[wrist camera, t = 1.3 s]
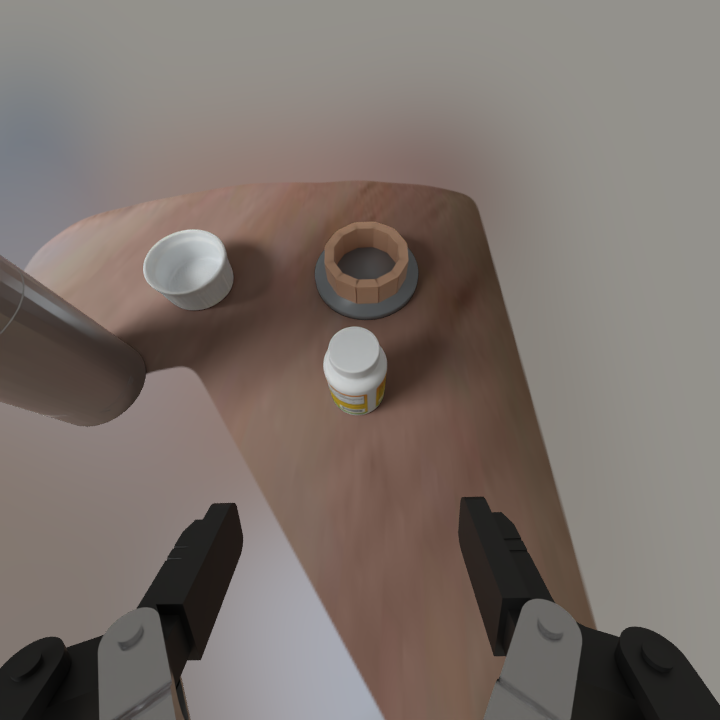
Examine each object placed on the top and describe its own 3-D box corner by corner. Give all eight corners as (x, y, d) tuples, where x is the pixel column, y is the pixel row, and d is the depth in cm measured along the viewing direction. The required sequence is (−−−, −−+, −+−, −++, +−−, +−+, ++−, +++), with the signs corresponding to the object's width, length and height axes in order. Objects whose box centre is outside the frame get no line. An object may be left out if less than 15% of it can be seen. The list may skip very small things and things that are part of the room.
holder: (296, 294, 40) (289, 272, 36) (347, 225, 44) (345, 199, 41) (388, 336, 38) (390, 317, 34) (433, 259, 42) (439, 234, 38)
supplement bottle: (367, 357, 37) (366, 306, 28) (394, 399, 35) (403, 359, 26) (322, 381, 36) (306, 337, 27) (347, 426, 34) (339, 394, 25)
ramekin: (242, 253, 43) (229, 226, 39) (234, 313, 39) (219, 291, 35) (172, 256, 43) (152, 230, 39) (157, 317, 39) (134, 295, 36)
